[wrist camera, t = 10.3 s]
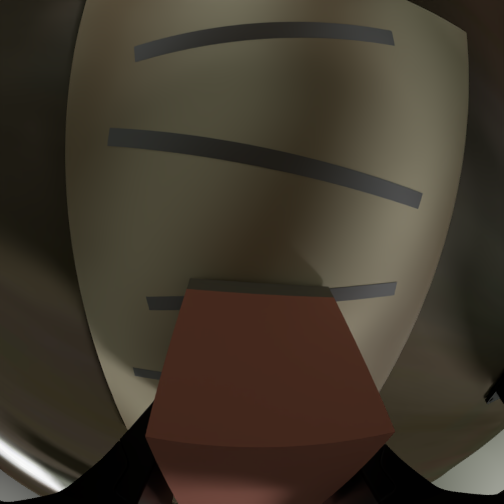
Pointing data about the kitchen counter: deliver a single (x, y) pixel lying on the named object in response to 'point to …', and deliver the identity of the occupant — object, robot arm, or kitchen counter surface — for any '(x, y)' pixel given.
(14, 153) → the kitchen counter surface
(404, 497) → the robot arm
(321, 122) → the cream flat rectangular board
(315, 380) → the block
